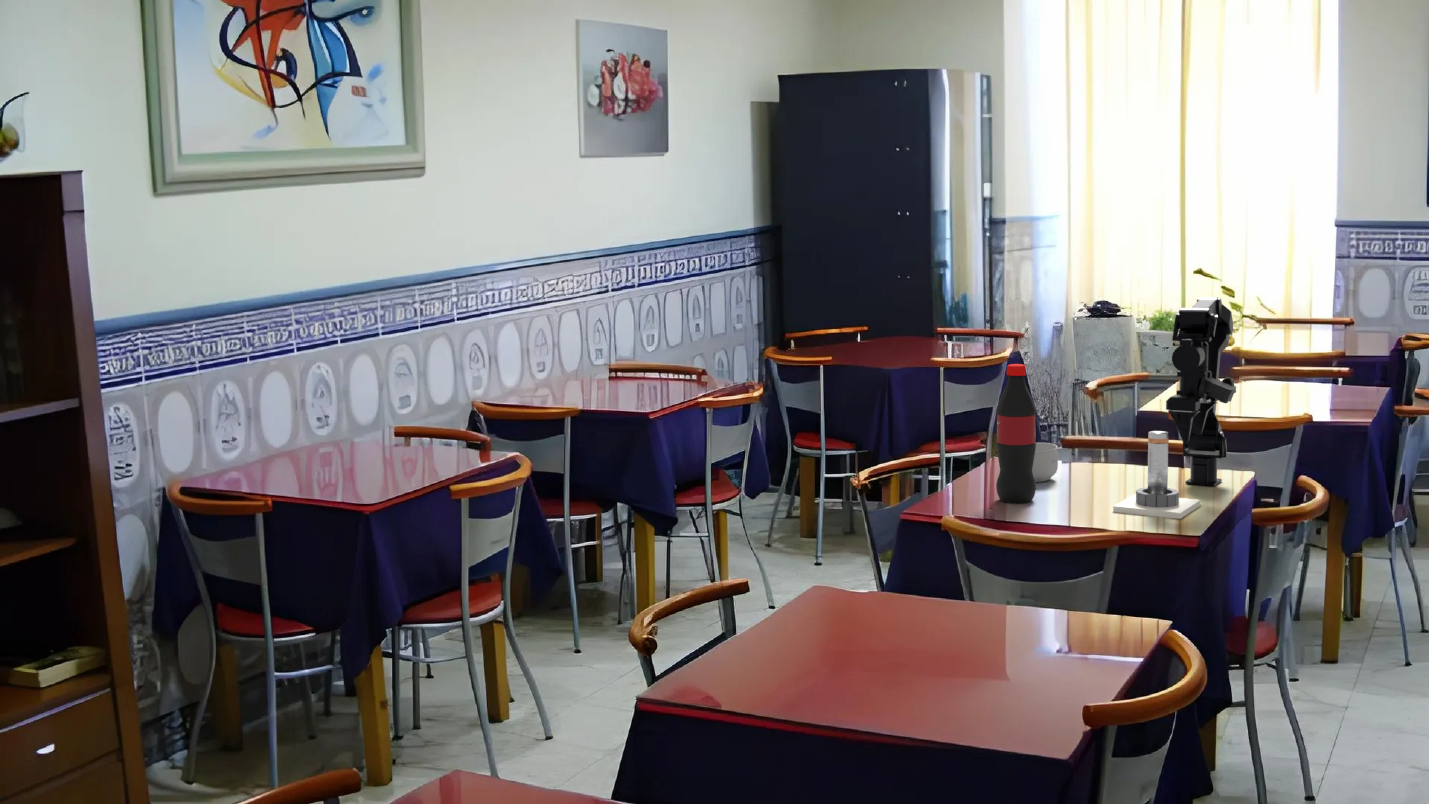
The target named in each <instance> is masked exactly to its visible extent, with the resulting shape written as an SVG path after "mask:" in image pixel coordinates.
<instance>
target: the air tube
mask: <svg viewBox="0 0 1429 804" xmlns="http://www.w3.org/2000/svg"><path fill="white" fill-rule="evenodd" d="M1169 438H1170V437H1169V432H1168V431H1165V430H1163V431H1162V430H1152V431H1148V437H1147V443H1148V445H1147V447H1148V449H1147V450H1148V451H1147V487H1148V491H1147V493H1148V494H1167V488H1168V487H1169V486H1168V484H1169V482H1168V480H1169V479H1168V478H1169V477H1168V476H1169V475H1168V474H1169Z"/></svg>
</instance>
